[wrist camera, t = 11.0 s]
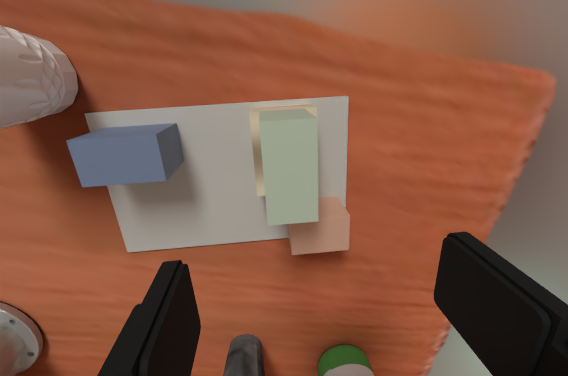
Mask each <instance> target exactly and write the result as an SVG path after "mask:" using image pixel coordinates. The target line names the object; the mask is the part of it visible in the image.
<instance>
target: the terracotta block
mask: <svg viewBox="0 0 568 376" xmlns="http://www.w3.org/2000/svg"><path fill="white" fill-rule="evenodd" d="M287 229H288V236H289V241H290V247H291V253H292V255H299V254H310V253H321V252H331V251H342V250H349V233H350V215H349V213H348V212H347V210H346V209H345V207H344V206H343V204H342V202H341V201H340V199H339V198H338V196H332V197H320V198H318V221H317V222H305V223H294V224H287Z"/></svg>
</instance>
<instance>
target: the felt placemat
mask: <svg viewBox="0 0 568 376" xmlns="http://www.w3.org/2000/svg"><path fill="white" fill-rule="evenodd" d="M348 98H349V96H338V97H322V98H307V99H292V100H277V101H262V102H246V103H231V104H216V105H201V106H185V107H170V108H155V109H140V110H125V111H109V112H94V113H84V114H85V117H86V121H87V124H88V127H89V130H90V133H91V132H94V131H97V130H100V129H103V128H110V127H124V126H139V125H153V124H168V123H177V128H178V133H179V138H180V143H181V148H182V154H183V159H184V162H183V163H182V164H181V165H180V166H179V167H178V169H177V170H176V171H175V172H174V173H173V174H172V175H171V176H170V177H169V179H168V180H167V181H158V182H145V183H133V184H120V185H107V188H108V191H109V194H110V197H111V201H112V204H113V207H114V210H115V213H116V217H117V220H118V223H119V226H120V229H121V233H122V236H123V239H124V242H125V245H126V248H127V252H138V251H149V250H160V249H171V248H182V247H193V246H204V245H215V244H226V243H237V242H248V241H259V240H270V239H281V238H289V236H288V229H287V224H282V225H270V226H268V222H267V210H266V199H265V196H257V188H256V178H255V168H254V158H253V148H252V138H251V128H250V118H249V110H250V108H252V107H267V106H282V105H297V104H311V105H313V106H315V107H317V118H318V198H320V197H332V196H338V198H339V199H340V201H341V202H342V204H343V206H344V207H346V171H347V134H348Z"/></svg>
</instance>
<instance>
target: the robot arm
mask: <svg viewBox="0 0 568 376" xmlns="http://www.w3.org/2000/svg"><path fill="white" fill-rule="evenodd" d="M434 300H435V303H436V305H437V306H438V307H439V309H440V310H441V311H442V312H443V314H444V315H445V316H446V317H447V319H448V320H449V321H450V323H451V324H452V325H453V326H454V328H455V329H456V330H457V331H458V333H460V335H461V336H462V338H463V339H464V340H465V341H466V342H467V344H468V345H469V346H470V348H471V349H472V350H473V351H474V353H475V354H476V355H477V357H478V358H479V359H480V360H481V362H482V363H483V364H484V365H485V366H486V368H487V369H488V370H489V372H490V373H491V374H492V375H493V376H568V305H567V304H566V303H564V302H563V301H561V300H560V299H559V298H557V297H556V296H555V295H553V294H552V293H551V292H549V291H548V290H547V289H545V288H544V287H542V286H541V285H540V284H538V283H537V282H536V281H534V280H533V279H531V278H530V277H529V276H527V275H526V274H525V273H523V272H522V271H520V270H519V269H518V268H516V267H515V266H514V265H512V264H511V263H509V262H508V261H507V260H505V259H504V258H503V257H501V256H500V255H498V254H497V253H496V252H494V251H493V250H492V249H490V248H489V247H487V246H486V245H485V244H483V243H482V242H481V241H479V240H478V239H476V238H475V237H474V236H472V235H471V234H470V233H468V232H457V233H450V234H448V235H447V238H444V240H443V244H442V250H441V255H440V261H439V267H438V273H437V278H436V284H435V290H434ZM200 329H201V324H200V318H199V314H198V309H197V304H196V300H195V295H194V291H193V286H192V282H191V277H190V273H189V268H188V265H187V264H183V263H182V261H181V260H177V261H167V262H163V263H162V265H161V267H160V269H159V270H158V272H157V274H156V276H155V278H154V280H153V282H152V284H151V286H150V288H149V290H148V292H147V294H146V296H145V298H144V300H143V302H142V304H138V305H136V306H135V307H134V309H133V310H132V312H131V314H130V316H129V318H128V320H127V321H126V323H125V325H124V327H123V329H122V331H121V333H120V334H119V336H118V338H117V340H116V342H115V344H114V346H113V347H112V349H111V351H110V353H109V355H108V357H107V359H106V360H105V362H104V364H103V366H102V368H101V370H100V372H99V374H98V375H97V376H190V375H191V371H192V367H193V362H194V358H195V353H196V349H197V344H198V340H199V335H200ZM42 349H43V339H42V335H41V333H40V331H39V329H38V327H37V326H36V325H35V323H34V322H33V321H32V320H31V319H30V318H29V317H28V316H26V315H25V314H24V313H22V312H21V311H19V310H18V309H16V308H14V307H11V306H9V305H7V304H4V303H1V302H0V376H15V375H16V374H17V373H20V372H22V371H24V370H26V369H27V368H29V367H30V366H31V365H32V364H33V363H34V362H35V361H36V359H37V358H38V357H39V355H40V354H41V351H42Z"/></svg>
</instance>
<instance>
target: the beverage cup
mask: <svg viewBox="0 0 568 376" xmlns="http://www.w3.org/2000/svg"><path fill="white" fill-rule="evenodd" d="M223 376H265V371H264V362H263V353H262V348H261V342H260V340H259V339H258V338H257V337H255V336H253V335H247V334H246V335H240V336H237V337H236V338H234V339H233V340H232V342H231V344H230V349H229V352H228V355H227V360H226V365H225V370H224V374H223Z"/></svg>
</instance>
